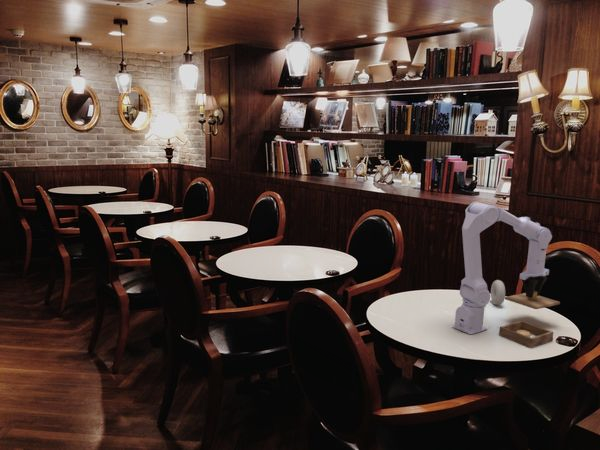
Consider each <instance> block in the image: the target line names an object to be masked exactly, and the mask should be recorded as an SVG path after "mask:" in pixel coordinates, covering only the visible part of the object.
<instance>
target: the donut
mask: <svg viewBox="0 0 600 450" xmlns="http://www.w3.org/2000/svg"><path fill="white" fill-rule="evenodd" d="M490 287H491V288H490V300H491V301H492V303H493V304H494V305H496V306H501V305H502V304H503V303H504V301H505V300H506V299H505V297H506V286H505V283H504V282H503V281H502V280H500V279H496V280H494V281H493V282H492V284H491V286H490Z"/></svg>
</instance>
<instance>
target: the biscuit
mask: <svg viewBox="0 0 600 450" xmlns="http://www.w3.org/2000/svg"><path fill="white" fill-rule="evenodd" d="M516 332H517V333H520V334H522V335H525V336H527V337H531V334H530V332H528V331H526V330H517V331H516Z"/></svg>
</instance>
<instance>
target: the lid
mask: <svg viewBox="0 0 600 450" xmlns="http://www.w3.org/2000/svg"><path fill="white" fill-rule="evenodd" d="M504 300H506V301H509V302H512V303H515V304H518V305H522V306H524V307H528V308H531V309H534V310H540V309H544V308H545V309H546V308H549V307H553V306H557V305H560V304H561V302H560V301H558V300H555V299H552V298H548V297H545V296H541V295H540V294H539V295H538V296H537V291H534V294H533V297H532V298H530V297H527V296H526V293H525V292H523V293H520V294H513V295H509V296H508V295H507V296H505V299H504Z"/></svg>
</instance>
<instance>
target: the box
mask: <svg viewBox="0 0 600 450" xmlns="http://www.w3.org/2000/svg"><path fill="white" fill-rule="evenodd" d="M517 330H526V331H528V332H530V335H533V337H531V336H529V337H527V336H525V335H522V334H520V333H517ZM498 336H500V337H502V338H505V339H507V340H510V341H512V342H514V343H517V344H520V345H522V346H525V347H527V348H530V349H532V348H534V347H538V346H541V345H544V344H547V343H550V342H552V341H553V340H554V339H553V337H554V332H553V331H551V330H548V329H545V328H543V327H541V326H537V325H534V324H531V323H530V322H525V321H523V320H519V321H515V322H512V323H509V324H505V325H502V326H500V327H499V331H498Z"/></svg>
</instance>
